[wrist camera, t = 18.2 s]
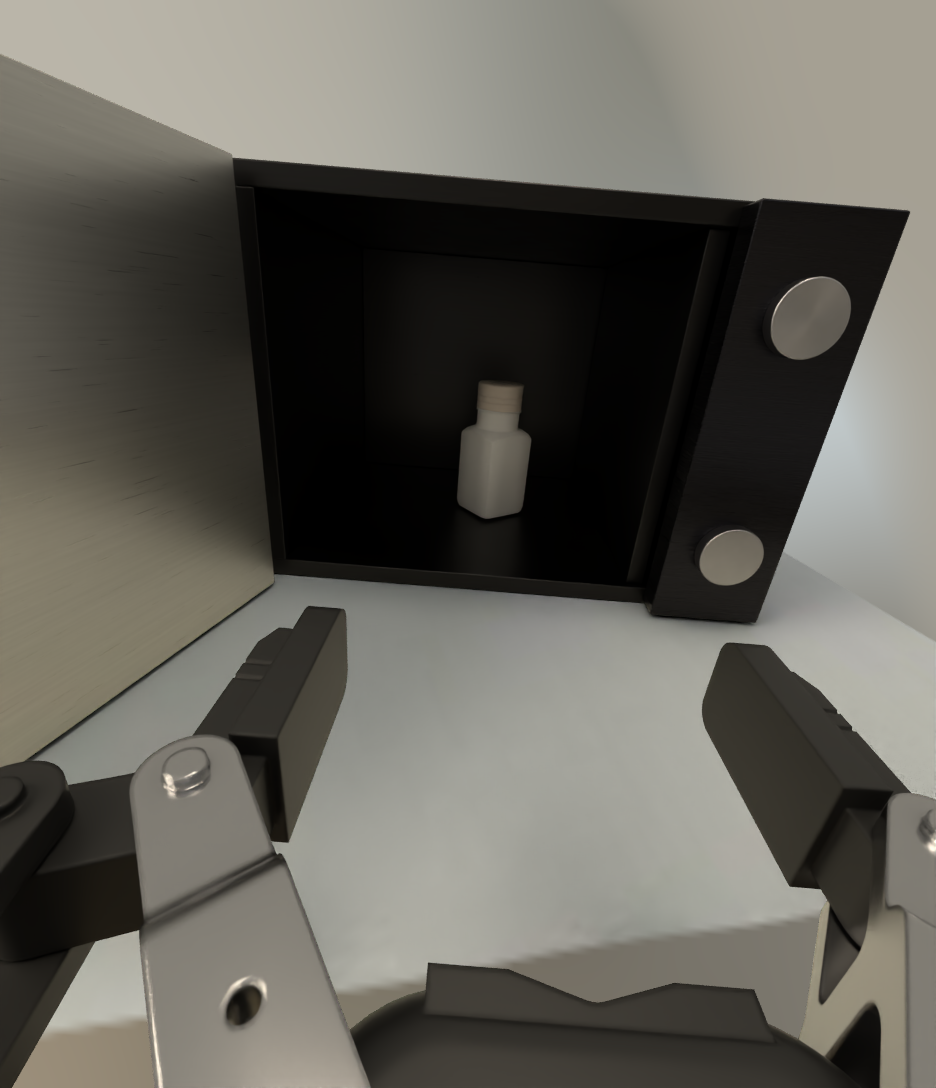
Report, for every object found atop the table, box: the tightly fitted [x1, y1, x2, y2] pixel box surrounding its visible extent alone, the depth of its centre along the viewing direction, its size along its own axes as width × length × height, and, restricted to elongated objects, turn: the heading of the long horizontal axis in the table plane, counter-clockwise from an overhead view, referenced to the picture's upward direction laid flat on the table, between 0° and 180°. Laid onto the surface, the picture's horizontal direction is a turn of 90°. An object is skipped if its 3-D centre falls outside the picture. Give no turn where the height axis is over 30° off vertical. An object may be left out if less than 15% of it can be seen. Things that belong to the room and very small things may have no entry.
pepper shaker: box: [457, 380, 531, 519], centre depth 37 cm, size 4×4×10 cm
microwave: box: [232, 158, 910, 623], centre depth 34 cm, size 24×28×20 cm
